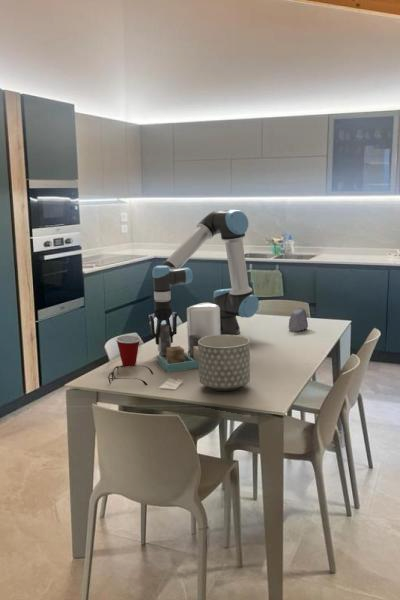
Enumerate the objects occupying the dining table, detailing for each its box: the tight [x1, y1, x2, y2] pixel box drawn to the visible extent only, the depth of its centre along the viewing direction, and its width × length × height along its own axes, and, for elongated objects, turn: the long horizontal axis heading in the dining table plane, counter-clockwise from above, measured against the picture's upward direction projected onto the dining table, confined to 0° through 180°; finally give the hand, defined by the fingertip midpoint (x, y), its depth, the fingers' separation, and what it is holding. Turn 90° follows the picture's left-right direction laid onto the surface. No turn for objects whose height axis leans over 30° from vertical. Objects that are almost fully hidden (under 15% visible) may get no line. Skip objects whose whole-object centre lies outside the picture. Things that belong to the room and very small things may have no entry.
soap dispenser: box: [186, 302, 221, 351], centre depth 267 cm, size 15×14×22 cm
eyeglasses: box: [107, 365, 155, 386], centre depth 227 cm, size 16×16×4 cm
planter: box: [198, 334, 251, 392], centre depth 213 cm, size 19×19×18 cm
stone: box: [288, 308, 309, 332], centre depth 301 cm, size 12×10×10 cm
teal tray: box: [157, 351, 199, 373], centre depth 246 cm, size 24×15×3 cm, turn 110°
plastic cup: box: [115, 335, 142, 367], centre depth 246 cm, size 11×11×12 cm
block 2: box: [189, 334, 201, 360], centre depth 250 cm, size 6×14×10 cm, turn 20°
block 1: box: [158, 323, 185, 364], centre depth 252 cm, size 6×22×14 cm, turn 20°
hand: (164, 350), depth 261 cm, fingers closed on block 1, 4 cm apart
